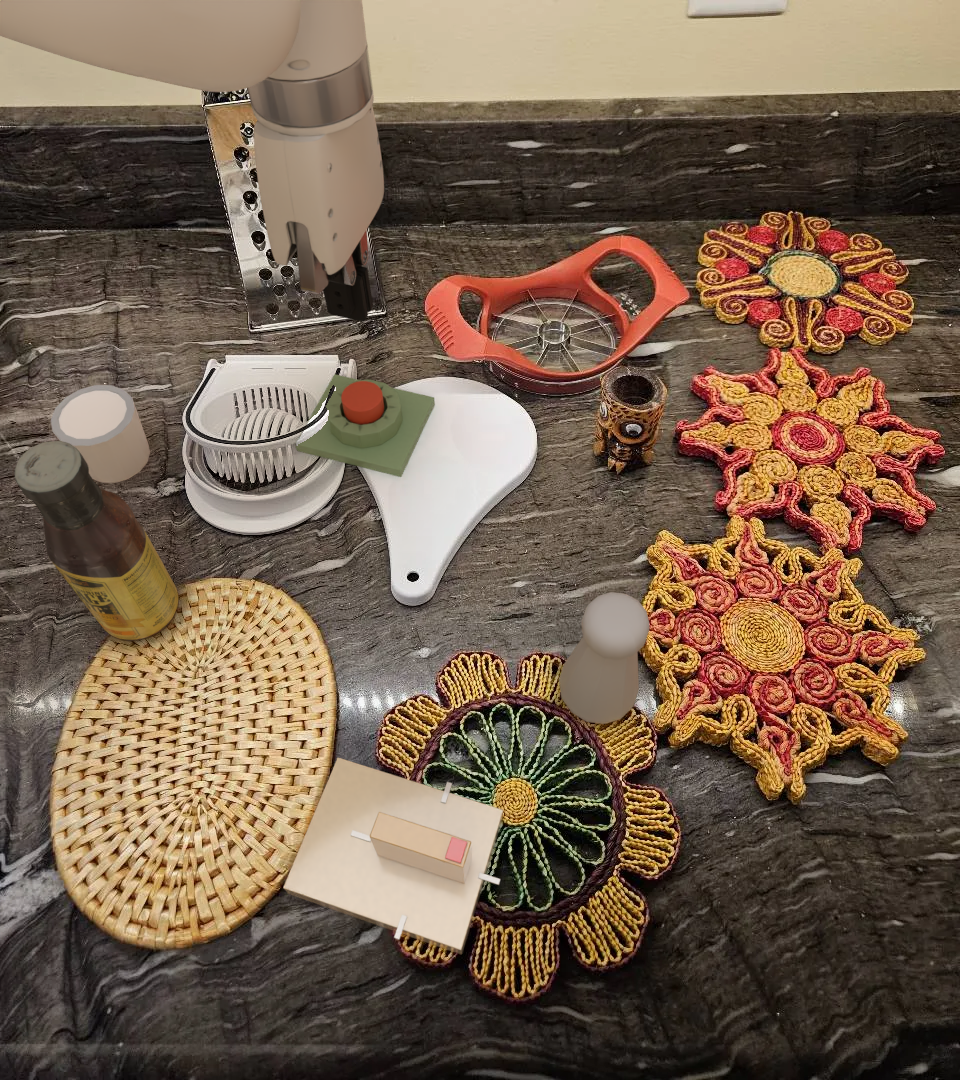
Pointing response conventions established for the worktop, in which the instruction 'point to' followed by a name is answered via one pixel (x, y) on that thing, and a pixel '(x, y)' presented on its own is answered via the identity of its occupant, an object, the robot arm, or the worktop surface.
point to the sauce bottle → (97, 543)
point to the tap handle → (421, 847)
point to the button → (362, 402)
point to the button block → (371, 429)
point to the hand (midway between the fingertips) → (350, 311)
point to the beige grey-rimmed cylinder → (103, 431)
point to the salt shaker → (605, 659)
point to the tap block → (383, 884)
